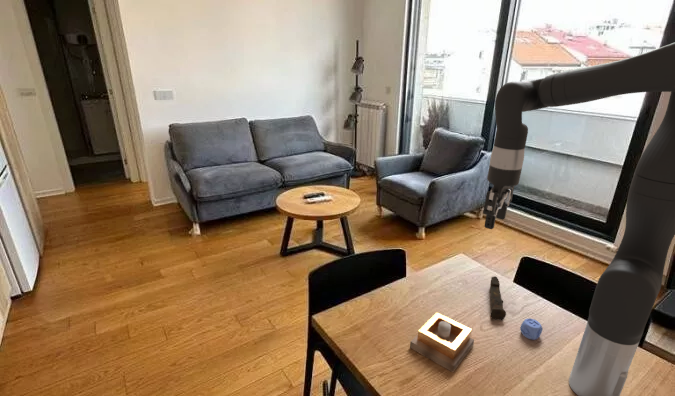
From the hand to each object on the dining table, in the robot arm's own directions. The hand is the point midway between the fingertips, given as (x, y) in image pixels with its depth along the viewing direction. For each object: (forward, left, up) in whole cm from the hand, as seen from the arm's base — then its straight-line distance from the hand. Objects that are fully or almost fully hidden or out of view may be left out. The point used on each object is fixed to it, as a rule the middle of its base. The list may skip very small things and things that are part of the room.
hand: (494, 223), depth 98 cm
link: (+2, +18, -28) cm, 34 cm away
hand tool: (-1, -10, -31) cm, 32 cm away
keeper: (+2, +19, -30) cm, 36 cm away
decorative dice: (-14, -2, -30) cm, 33 cm away
